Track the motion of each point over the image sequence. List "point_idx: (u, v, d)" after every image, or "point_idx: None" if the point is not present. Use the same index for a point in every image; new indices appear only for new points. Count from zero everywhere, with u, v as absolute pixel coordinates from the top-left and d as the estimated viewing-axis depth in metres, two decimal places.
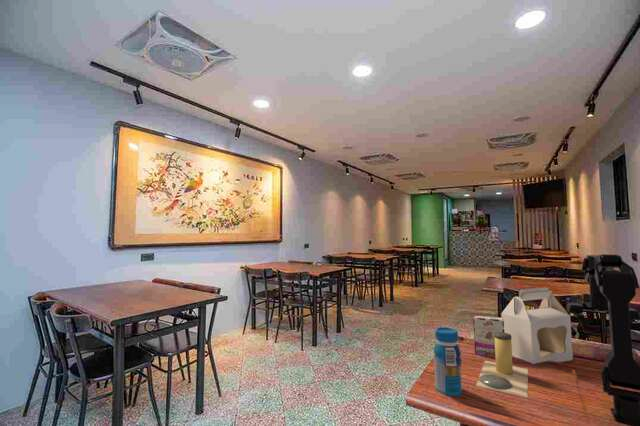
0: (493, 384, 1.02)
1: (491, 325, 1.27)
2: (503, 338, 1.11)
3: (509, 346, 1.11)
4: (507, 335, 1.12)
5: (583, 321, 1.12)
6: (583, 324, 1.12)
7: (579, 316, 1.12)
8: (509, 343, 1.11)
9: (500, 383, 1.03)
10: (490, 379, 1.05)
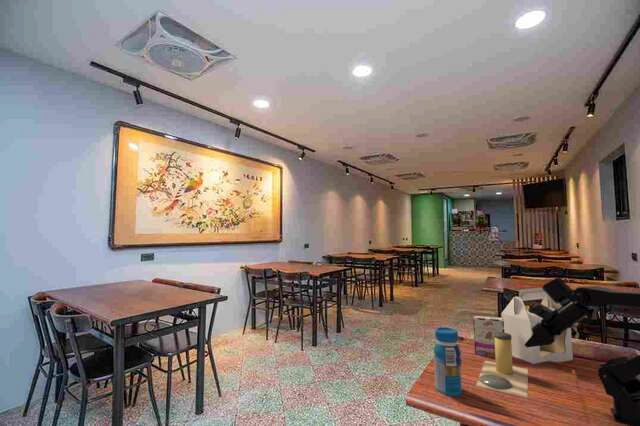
0: (493, 384, 1.02)
1: (491, 325, 1.27)
2: (503, 338, 1.11)
3: (509, 346, 1.11)
4: (507, 335, 1.12)
5: None
6: None
7: None
8: (509, 343, 1.11)
9: (500, 383, 1.03)
10: (490, 379, 1.05)
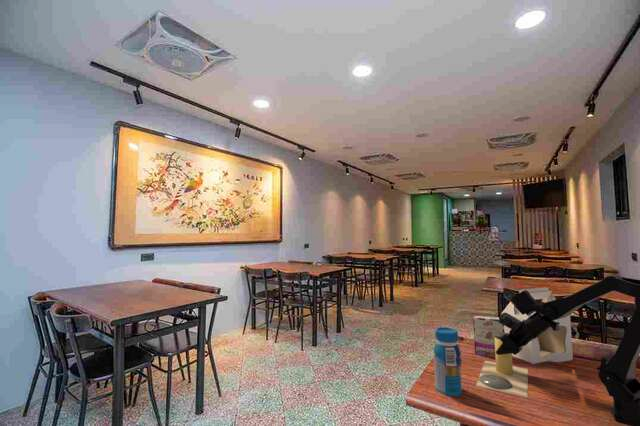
0: (493, 384, 1.02)
1: (491, 325, 1.27)
2: None
3: None
4: None
5: None
6: None
7: None
8: None
9: (500, 383, 1.03)
10: (490, 379, 1.05)
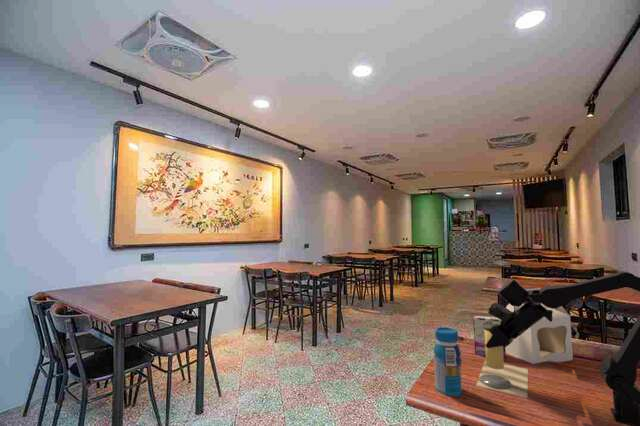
0: (493, 384, 1.02)
1: None
2: None
3: None
4: None
5: None
6: None
7: None
8: None
9: (500, 383, 1.03)
10: (490, 379, 1.05)
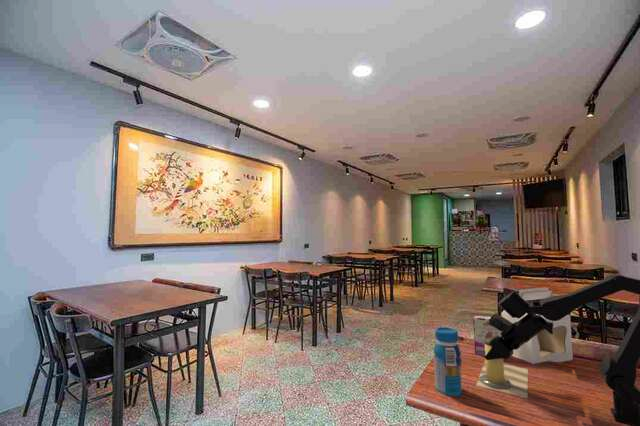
0: (493, 384, 1.02)
1: None
2: None
3: None
4: None
5: None
6: None
7: None
8: None
9: None
10: None
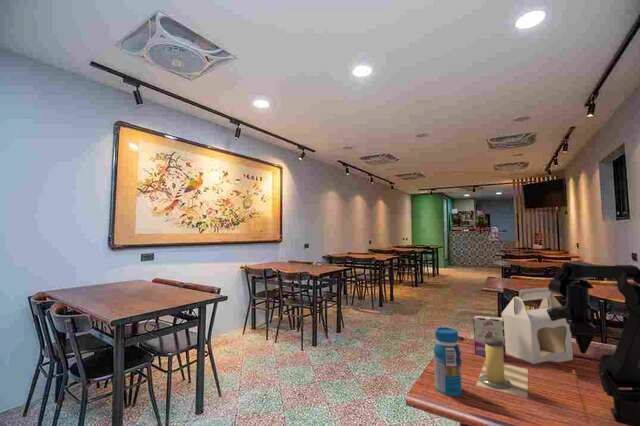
0: (493, 384, 1.02)
1: (491, 325, 1.27)
2: (494, 345, 1.03)
3: (500, 353, 1.03)
4: (498, 341, 1.04)
5: None
6: None
7: None
8: (501, 350, 1.03)
9: None
10: None
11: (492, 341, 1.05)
